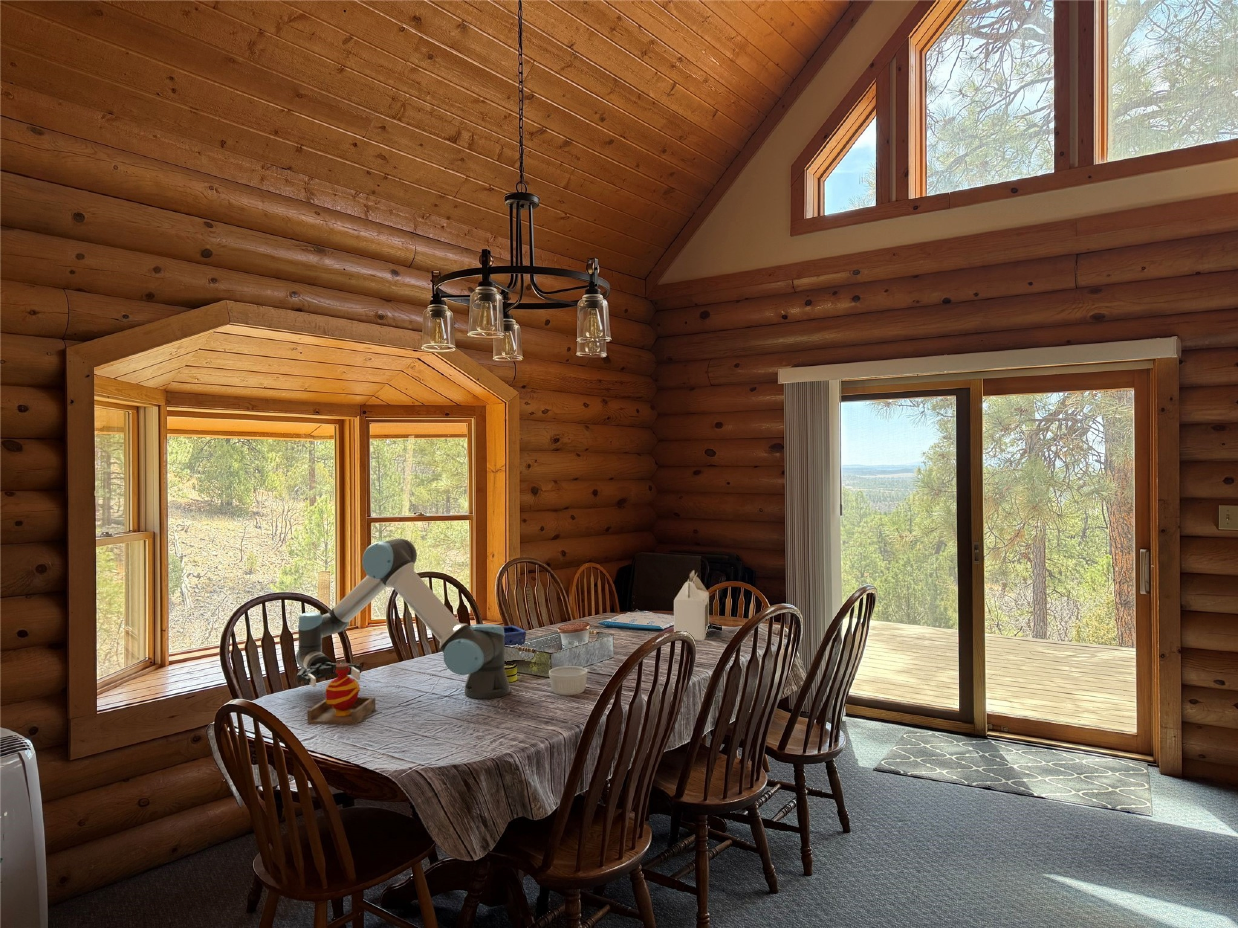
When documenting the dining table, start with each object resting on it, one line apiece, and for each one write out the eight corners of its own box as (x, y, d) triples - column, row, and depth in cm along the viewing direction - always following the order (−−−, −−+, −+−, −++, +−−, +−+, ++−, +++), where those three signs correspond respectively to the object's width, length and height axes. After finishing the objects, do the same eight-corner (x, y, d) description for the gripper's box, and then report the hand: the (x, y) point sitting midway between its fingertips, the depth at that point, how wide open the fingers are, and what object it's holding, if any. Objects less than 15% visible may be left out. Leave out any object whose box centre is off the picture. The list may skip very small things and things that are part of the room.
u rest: (330, 707, 263) (330, 695, 263) (375, 709, 261) (375, 697, 261) (307, 722, 248) (307, 710, 248) (355, 724, 246) (355, 711, 246)
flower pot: (495, 665, 316) (495, 634, 315) (482, 658, 327) (482, 628, 327) (527, 661, 322) (527, 630, 322) (513, 654, 334) (513, 624, 334)
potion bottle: (349, 719, 249) (349, 669, 248) (318, 717, 251) (318, 668, 250) (366, 709, 259) (366, 661, 259) (336, 707, 261) (336, 659, 261)
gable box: (704, 640, 358) (703, 576, 357) (673, 639, 360) (673, 575, 360) (708, 629, 380) (708, 569, 379) (680, 628, 382) (680, 568, 382)
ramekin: (543, 695, 277) (543, 674, 277) (555, 684, 290) (555, 664, 289) (581, 697, 274) (581, 676, 274) (592, 686, 286) (592, 666, 286)
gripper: (355, 670, 282) (376, 684, 265) (278, 682, 268) (295, 697, 250) (355, 648, 282) (376, 661, 265) (278, 659, 267) (295, 673, 250)
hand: (337, 679), depth 257 cm, fingers open, 13 cm apart
